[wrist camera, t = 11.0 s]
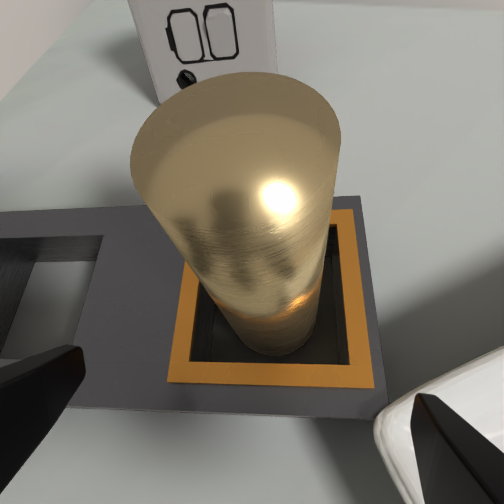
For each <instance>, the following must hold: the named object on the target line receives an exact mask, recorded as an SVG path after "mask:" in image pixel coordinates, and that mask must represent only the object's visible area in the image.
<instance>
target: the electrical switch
mask: <svg viewBox="0 0 504 504" xmlns="http://www.w3.org/2000/svg"><path fill="white" fill-rule="evenodd" d="M128 3H129V7H130V10H131V13H132V16H133V20H134V23H135V26H136V29H137V32H138V36H139V39H140V42H141V45H142V49H143V52H144V55H145V58H146V62H147V65H148V68H149V71H150V75H151V78H152V81H153V84H154V87H155V91H156V94H157V97H158V100H159V102H160V103H161V104H162V103H163V102H165V101H166V100H167V99H169V98H170V97H171V96H173V95H174V94H176V93H178V92H179V91H181V90H183V89H185V88H187V87H189V86H191V85H193V84H195V83H198V82H200V81H203V80H206V79H209V78H212V77H215V76H220V75H224V74H230V73H237V72H266V73H274V74H278V69H277V56H276V41H275V26H274V11H273V0H128ZM184 73H189V74H190V75H191V76H193V78H194V80H190V79H189V78H188V77H187V76H186V75H185V74H184Z"/></svg>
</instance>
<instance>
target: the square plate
mask: <svg viewBox="0 0 504 504" xmlns="http://www.w3.org/2000/svg"><path fill="white" fill-rule="evenodd" d="M417 393H426V394H433V395H436V396H437V397H439V398H440V399H441V400H442V401H443V402H445V403H446V404H447V405H448V406H449V407H450V408H452V409H453V410H454V411H455V412H456V413H457V414H459V415H460V416H461V417H462V418H463V419H465V420H466V421H467V422H468V423H469V424H470V425H472V426H473V427H474V428H475V429H476V430H477V431H479V432H480V433H481V434H482V435H483V436H485V437H486V438H487V439H488V440H489V441H490V442H492V443H493V444H494V445H495V446H496V447H497V448H499V449H500V450H501V451H502V452H503V453H504V345H503V346H501V347H499V348H497V349H494V350H492V351H490V352H488V353H486V354H484V355H482V356H480V357H478V358H476V359H473V360H471V361H469V362H467V363H465V364H463V365H461V366H459V367H457V368H455V369H453V370H451V371H449V372H447V373H445V374H443V375H441V376H439V377H437V378H435V379H433V380H431V381H429V382H427V383H425V384H422V385H420V386H418V387H417V388H415V389H413V390H412V391H410V392H408V393H407V394H405V395H403V396H402V397H400V398H399V399H397V400H396V401H394V402H393V403H391V404H390V405H388V406H387V407H386V408H384V409H383V410H382V411H381V412H380V413H379V414H378V415H377V417H376V419H375V421H374V424H373V435H374V440H375V444H376V446H377V448H378V451H379V453H380V455H381V457H382V459H383V462H384V464H385V466H386V468H387V471H388V473H389V475H390V477H391V479H392V481H393V482H394V484H395V486H396V488H397V490H398V492H399V493H400V495H401V497H402V499H403V501H404V502H405V504H425V502H424V498H423V493H422V489H421V483H420V478H419V473H418V467H417V462H416V457H415V452H414V446H413V441H412V436H411V430H410V419H411V414H412V409H413V403H414V398H415V395H416V394H417Z"/></svg>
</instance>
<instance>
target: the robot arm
mask: <svg viewBox="0 0 504 504" xmlns="http://www.w3.org/2000/svg"><path fill="white" fill-rule="evenodd" d="M85 375H86V366H85V360H84V354H83V349H82V348H81V347H80V346H75V345H64V346H61V347H58V348H55V349H52V350H49V351H47V352H44V353H41V354H38V355H35V356H32V357H29V358H26V359H23V360H21V361H18V362H15V363H12V364H9V365H6V366H3V367H0V494H1V493H2V491H3V490H4V489H5V488H6V486H7V485H8V484H9V482H10V481H11V480H12V479H13V477H14V476H15V475H16V473H17V472H18V471H19V470H20V468H21V467H22V466H23V465H24V463H25V462H26V461H27V459H28V458H29V457H30V456H31V454H32V453H33V452H34V450H35V449H36V448H37V447H38V445H39V444H40V443H41V441H42V440H43V439H44V438H45V436H46V435H47V434H48V432H49V431H50V430H51V428H52V427H53V425H54V424H55V423H56V421H57V420H58V418H59V417H60V415H61V414H62V412H63V410H64V409H65V407H66V406H67V404H68V403H69V401H70V400H71V398H72V397H73V395H74V394H75V392H76V391H77V389H78V388H79V386H80V384H81V383H82V381H83V380H84V378H85ZM410 430H411V436H412V441H413V446H414V452H415V457H416V462H417V467H418V473H419V478H420V483H421V489H422V493H423V498H424V502H425V504H504V453H503V452H502V451H501V450H500V449H499V448H497V447H496V446H495V445H494V444H493V443H492V442H490V441H489V440H488V439H487V438H486V437H485V436H483V435H482V434H481V433H480V432H479V431H477V430H476V429H475V428H474V427H473V426H472V425H470V424H469V423H468V422H467V421H466V420H465V419H463V418H462V417H461V416H460V415H459V414H457V413H456V412H455V411H454V410H453V409H452V408H450V407H449V406H448V405H447V404H446V403H445V402H443V401H442V400H441V399H440V398H439V397H437V396H436V395H433V394H426V393H417V394H416V395H415V398H414V403H413V409H412V414H411V419H410Z"/></svg>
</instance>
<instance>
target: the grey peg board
mask: <svg viewBox="0 0 504 504" xmlns="http://www.w3.org/2000/svg"><path fill="white" fill-rule="evenodd" d="M329 255H331V258H332V271H333V284H334V296H335V309H336V322H337V334H338V347H339V360H340V365H322V364H275V363H227V362H210V352H211V342H212V331H213V321H214V311H215V302H214V301H213V299H212V298H211V296H210V295H209V294H208V292H207V291H206V289H205V288H204V286H203V285H202V283H201V282H200V281H199V279H198V278H197V276H196V275H195V273H194V272H193V271H192V269H191V268H190V266H189V265H188V263H187V262H186V261H185V259H184V258H183V256H182V255H181V253H180V252H179V250H178V249H177V248H176V246H175V245H174V243H173V242H172V240H171V239H170V238H169V236H168V235H167V233H166V232H165V230H164V229H163V227H162V226H161V225H160V223H159V222H158V220H157V219H156V217H155V216H154V215H153V213H152V212H151V210H150V209H149V207H148V206H147V205H142V206H120V207H98V208H76V209H54V210H32V211H10V212H0V351H1V349H2V346H3V344H4V341H5V338H6V336H7V333H8V331H9V328H10V325H11V323H12V320H13V318H14V315H15V312H16V310H17V307H18V304H19V302H20V299H21V297H22V294H23V291H24V289H25V286H26V284H27V281H28V278H29V276H30V273H31V271H32V268H33V265H34V263H35V262H60V261H96V264H95V267H94V271H93V274H92V278H91V281H90V285H89V288H88V292H87V295H86V299H85V302H84V305H83V309H82V312H81V316H80V319H79V323H78V326H77V330H76V333H75V337H74V340H73V344H72V345H75V346H80V347H81V348H82V349H83V354H84V360H85V366H86V375H85V378H84V380H83V381H82V383H81V384H80V386H79V388H78V389H77V391H76V392H75V394H74V395H73V397H72V398H71V400H70V401H69V403H68V404H67V406H66V407H65V408H87V409H110V410H134V411H157V412H181V413H204V414H228V415H251V416H275V417H298V418H322V419H345V420H369V421H375V419H376V417H377V415H378V414H379V413H380V412H381V411H382V410H383V409H384V408H386V407H387V406H388V405H389V402H388V394H387V387H386V380H385V372H384V365H383V358H382V351H381V343H380V336H379V329H378V322H377V314H376V307H375V300H374V293H373V285H372V278H371V271H370V263H369V256H368V249H367V242H366V234H365V227H364V220H363V213H362V205H361V198H360V196H339V197H333V202H332V209H331V216H330V223H329V230H328V237H327V245H326V252H325V256H329ZM21 360H23V359H0V367H3V366H6V365H9V364H12V363H15V362H18V361H21Z"/></svg>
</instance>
